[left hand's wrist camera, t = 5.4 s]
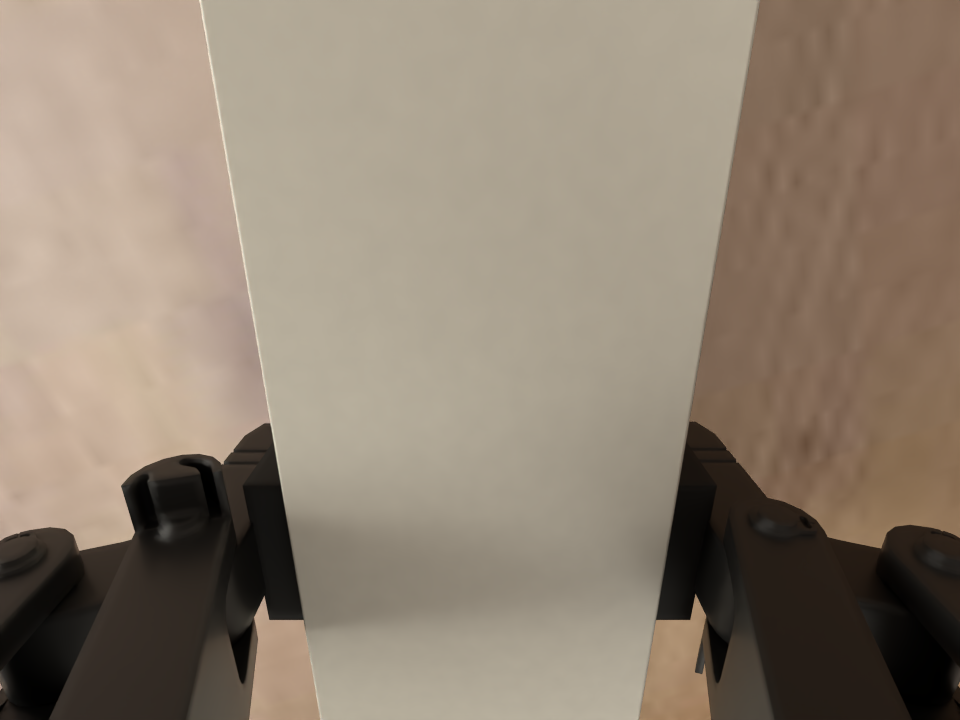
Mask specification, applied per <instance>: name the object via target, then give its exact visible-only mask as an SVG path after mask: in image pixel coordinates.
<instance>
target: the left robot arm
mask: <svg viewBox="0 0 960 720" xmlns="http://www.w3.org/2000/svg"><path fill="white" fill-rule="evenodd" d="M121 487H122V490H123V494H124V497H125V500H126V503H127V507H128V510H129V513H130V517H131V520H132V523H133V526H134V530H135V534H134V536H133V538H132V540H129V541H125V542H121V543H116V544H111V545H106V546H101V547H96V548H92V549H87V550H82V551H79V549H78V547H77V544H76V541H75V538H74V535H73V534H71V533H70V532H68V531H67V530H66V529H60V528H51V527H49V528H42V529H35V530H29V531H24V532H20V534H14V535H11V536H9V537H6V538H4V539H3V540H1V541H0V683H1V685H2V687H3V688H2V689H1V690H0V720H249V715H250V706H251V697H252V688H253V679H254V670H255V661H256V652H257V643H258V637H257V630H256V625H255V621H254V616H255V614H256V612H257V610H258V608H259V606H260V604H261V601H262V599H263V597H264V595H265V600H266V605H267V610H268V615H269V620H304V619H303V613H302V607H301V601H300V595H299V589H298V583H297V577H296V571H295V565H294V559H293V553H292V547H291V541H290V535H289V530H288V524H287V518H286V512H285V506H284V500H283V494H282V488H281V482H280V476H279V470H278V464H277V458H276V452H275V446H274V441H273V435H272V429H271V423H265V424H263V425H261V426H260V427H258V428H257V429H255V430H253V431H252V432H250V433H249V434H247V435H245V436H244V438H243V439H242V440H241V441H240V443H239V444H238V445H237V446H236V447H235V449H234V452H233V453H231V454H230V455H229V456H228V457H227V459H226V460H225V461H224V465H221V463H220V462H219V461H218V460H216V459H215V458H214V457H211V456H206V455H201V454H191V455H180V456H175V457H171V458H166V459H163V460H160V461H157V462H155V463H152V464H150V465H147V466H145V467H143V468H142V469H140V470H139V471H137V472H135V473H134V474H132V475H131V476H130V477H129V478H128V479H127V480H126V481H125V482H124V483H123V484H122V486H121ZM695 593H696V595H697V597H698V599H699V602H700V604H701V606H702V608H703V610H704V612H705V614H706V621H705V625H704V630H703V634H702V639H701V644H700V648H699V653H698V658H697V663H696V669H695V672H696V673H700V674H702V673H703V668H704V664H705V668H706V677H707V686H708V695H709V704H710V713H711V720H960V688H959V686H958V684H959V682H960V538H958V537H957V536H955V535H953V534H951V533H948V532H945V531H943V532H942V531H940V530H938V529H934V528H929V527H921V526H914V525H906V526H897V527H894V528H893V529H891V530H890V531H889V532H887V534H886V537H885V540H884V543H883V545H882V548H881V549H880V548H875V547H870V546H865V545H860V544H855V543H851V542H846V541H841V540H836V539H833V538H829V537H827V535H826V533H825V531H824V530H823V528H822V527H821V526H820V525H819V523H818V522H817V521H816V520H815V519H814V518H812V517H811V516H810V515H808V514H807V513H805V512H804V511H803V510H801V509H799V508H796V507H794V506H792V505H790V504H788V503H786V502H782V501H778V500H774V499H770V498H767V497H766V496H765V494H764V493H763V492H762V491H761V489H760V488H759V487H758V486H757V485H756V483H755V482H754V481H753V480H752V479H751V477H750V476H749V475H748V474H747V472H746V471H745V470H744V469H743V468H742V466H741V465H740V464H739V463H736V459H735V458H734V457H733V455H732V454H731V453H730V452H729V451H727V450H726V447H725V446H724V444H723V443H722V442H721V441H720V440H719V438H718V437H717V436H716V435H715V434H714V433H713V432H711V431H709V430H708V429H706V428H705V427H703V426H701V425H700V424H698V423H697V422H689V426H688V432H687V438H686V444H685V450H684V456H683V462H682V468H681V474H680V480H679V486H678V491H677V497H676V503H675V509H674V515H673V521H672V527H671V533H670V539H669V545H668V551H667V557H666V563H665V569H664V575H663V581H662V587H661V593H660V598H659V604H658V610H657V616H656V620H690V618H691V613H692V608H693V603H694V598H695Z"/></svg>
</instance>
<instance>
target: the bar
mask: <svg viewBox="0 0 960 720" xmlns="http://www.w3.org/2000/svg"><path fill="white" fill-rule="evenodd" d="M199 2H200V8H201V13H202V19H203V25H204V31H205V37H206V43H207V49H208V55H209V61H210V67H211V73H212V79H213V85H214V91H215V97H216V102H217V108H218V114H219V120H220V126H221V132H222V138H223V144H224V150H225V156H226V162H227V168H228V174H229V180H230V185H231V191H232V197H233V203H234V209H235V215H236V221H237V227H238V233H239V239H240V245H241V251H242V257H243V263H244V269H245V274H246V280H247V286H248V292H249V298H250V304H251V310H252V316H253V322H254V328H255V334H256V340H257V346H258V352H259V358H260V363H261V369H262V375H263V381H264V387H265V393H266V399H267V405H268V411H269V417H270V423H271V429H272V435H273V441H274V446H275V452H276V458H277V464H278V470H279V476H280V482H281V488H282V494H283V500H284V506H285V512H286V518H287V524H288V530H289V535H290V541H291V547H292V553H293V559H294V565H295V571H296V577H297V583H298V589H299V595H300V601H301V607H302V613H303V619H304V624H305V630H306V636H307V642H308V648H309V654H310V660H311V666H312V672H313V678H314V684H315V690H316V696H317V702H318V708H319V713H320V719H321V720H639V717H640V711H641V705H642V700H643V694H644V688H645V682H646V676H647V670H648V664H649V658H650V652H651V646H652V640H653V634H654V628H655V622H656V616H657V610H658V604H659V598H660V593H661V587H662V581H663V575H664V569H665V563H666V557H667V551H668V545H669V539H670V533H671V527H672V521H673V515H674V509H675V503H676V497H677V491H678V486H679V480H680V474H681V468H682V462H683V456H684V450H685V444H686V438H687V432H688V426H689V420H690V414H691V408H692V402H693V396H694V390H695V385H696V379H697V373H698V367H699V361H700V355H701V349H702V343H703V337H704V331H705V325H706V319H707V313H708V307H709V301H710V295H711V289H712V283H713V278H714V272H715V266H716V260H717V254H718V248H719V242H720V236H721V230H722V224H723V218H724V212H725V206H726V200H727V194H728V188H729V182H730V176H731V171H732V165H733V159H734V153H735V147H736V141H737V135H738V129H739V123H740V117H741V111H742V105H743V99H744V93H745V87H746V81H747V75H748V70H749V64H750V58H751V52H752V46H753V40H754V34H755V28H756V22H757V16H758V10H759V4H760V0H199Z"/></svg>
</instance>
